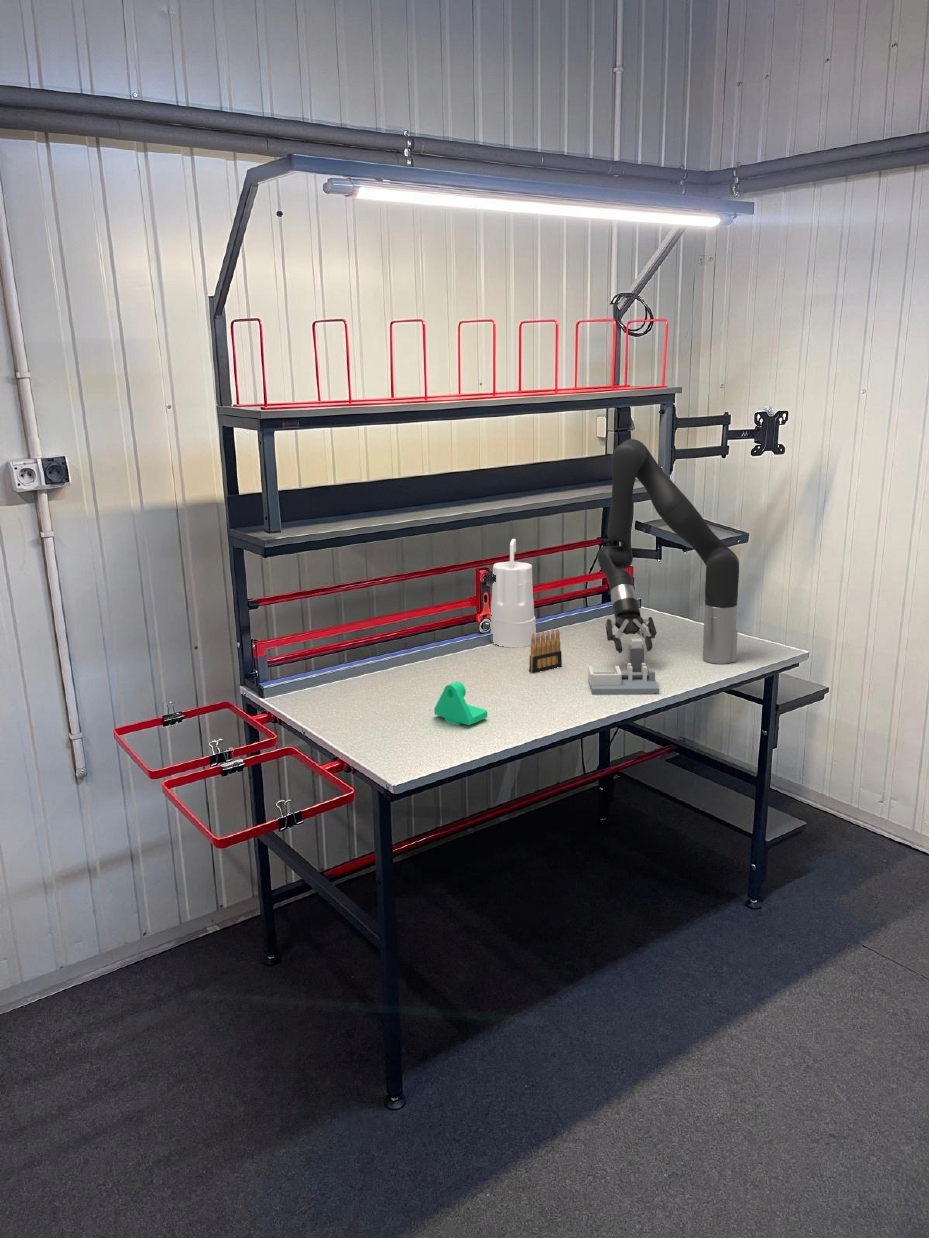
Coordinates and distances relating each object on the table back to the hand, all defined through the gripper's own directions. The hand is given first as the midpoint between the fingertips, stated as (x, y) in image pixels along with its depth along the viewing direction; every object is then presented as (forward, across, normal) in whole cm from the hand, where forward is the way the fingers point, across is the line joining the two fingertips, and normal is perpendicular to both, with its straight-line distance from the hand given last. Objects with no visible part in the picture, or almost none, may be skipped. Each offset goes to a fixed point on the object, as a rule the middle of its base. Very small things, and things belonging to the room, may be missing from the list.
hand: (635, 651), depth 261 cm
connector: (+5, 0, +4) cm, 7 cm away
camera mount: (+24, -54, -14) cm, 61 cm away
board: (+12, -7, -3) cm, 14 cm away
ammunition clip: (0, -25, +10) cm, 27 cm away
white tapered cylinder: (-23, -30, +32) cm, 49 cm away
